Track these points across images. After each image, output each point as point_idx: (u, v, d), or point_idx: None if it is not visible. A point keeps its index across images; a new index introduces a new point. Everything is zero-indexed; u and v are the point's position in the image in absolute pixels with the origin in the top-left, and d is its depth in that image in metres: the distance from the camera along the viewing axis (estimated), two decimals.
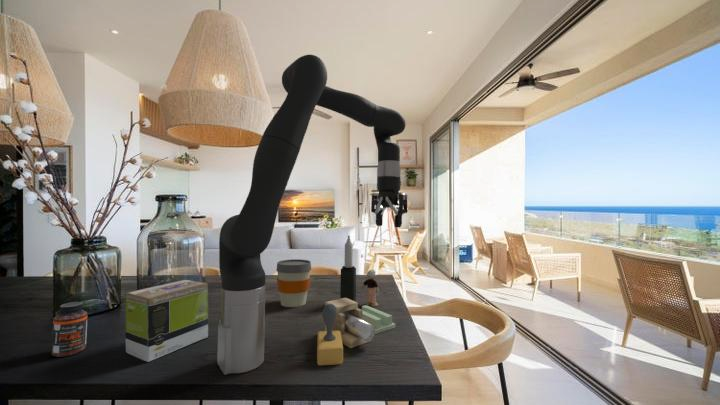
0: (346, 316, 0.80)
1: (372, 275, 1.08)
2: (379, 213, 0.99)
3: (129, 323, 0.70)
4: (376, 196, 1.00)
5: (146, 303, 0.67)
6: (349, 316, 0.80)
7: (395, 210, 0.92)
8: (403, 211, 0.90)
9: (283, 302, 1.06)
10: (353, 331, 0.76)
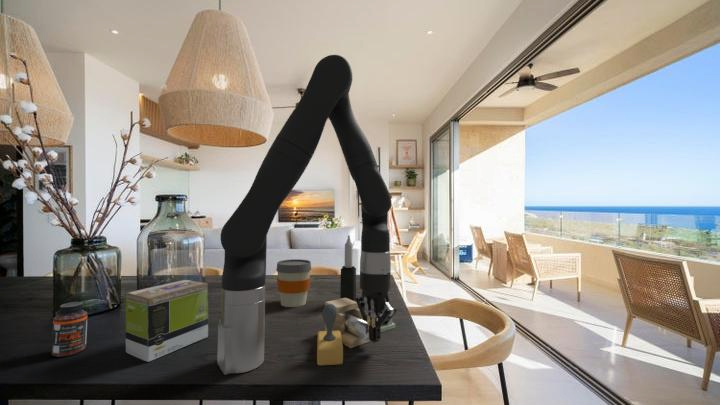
0: (346, 316, 0.81)
1: None
2: None
3: (129, 323, 0.70)
4: (361, 297, 0.76)
5: (146, 303, 0.67)
6: (349, 316, 0.80)
7: (373, 321, 0.71)
8: (381, 324, 0.70)
9: (283, 302, 1.06)
10: (353, 331, 0.76)
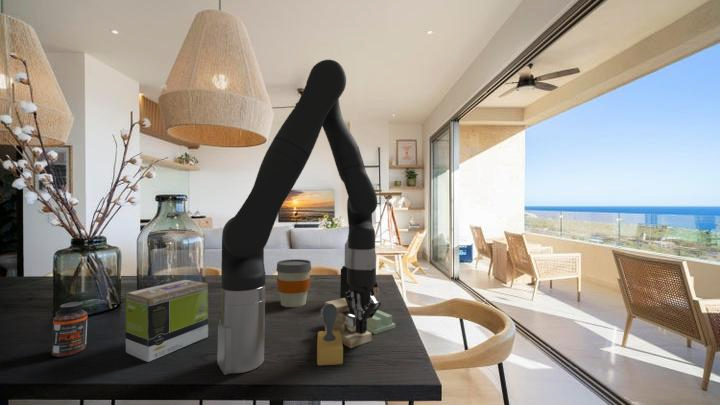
0: None
1: None
2: None
3: (129, 323, 0.70)
4: (348, 292, 0.81)
5: (146, 303, 0.67)
6: None
7: (360, 314, 0.76)
8: (367, 317, 0.74)
9: (283, 302, 1.06)
10: None
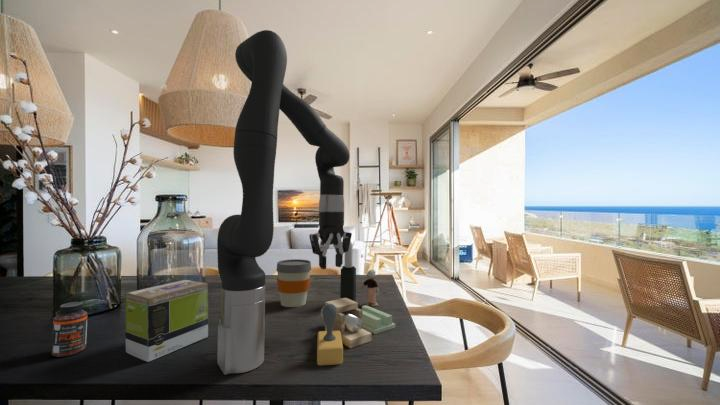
0: None
1: (372, 275, 1.08)
2: (337, 253, 0.90)
3: (129, 323, 0.70)
4: None
5: (146, 303, 0.67)
6: None
7: None
8: (314, 252, 0.86)
9: (283, 302, 1.06)
10: None
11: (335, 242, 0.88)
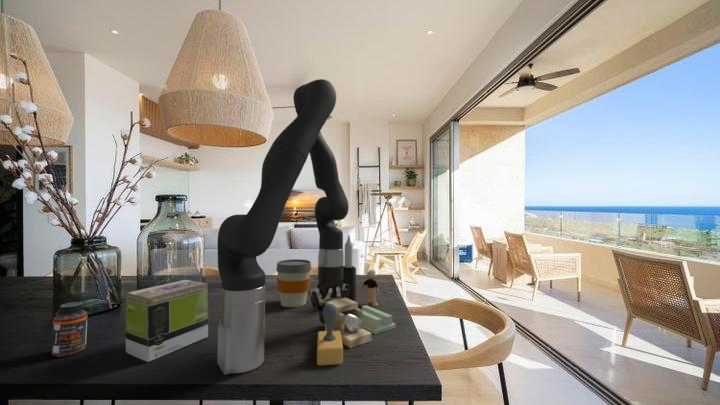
0: None
1: (372, 275, 1.08)
2: None
3: (129, 323, 0.70)
4: None
5: (146, 303, 0.67)
6: None
7: None
8: (314, 307, 0.86)
9: (283, 302, 1.06)
10: None
11: (334, 295, 0.88)
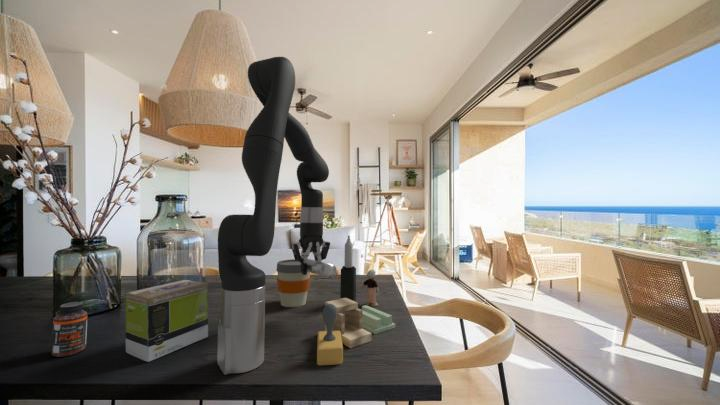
0: (314, 261, 0.95)
1: (372, 275, 1.08)
2: (316, 260, 0.99)
3: (129, 323, 0.70)
4: None
5: (146, 303, 0.67)
6: (316, 261, 0.94)
7: None
8: (296, 259, 0.95)
9: (283, 302, 1.06)
10: (318, 271, 0.90)
11: (314, 250, 0.98)
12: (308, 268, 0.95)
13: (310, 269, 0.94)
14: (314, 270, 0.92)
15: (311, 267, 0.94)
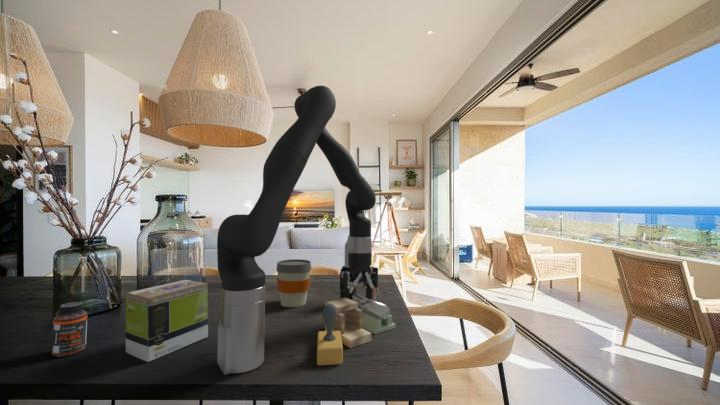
0: (364, 299, 0.92)
1: None
2: (368, 287, 0.98)
3: (129, 323, 0.70)
4: None
5: (146, 303, 0.67)
6: (367, 299, 0.92)
7: None
8: (341, 289, 0.92)
9: (283, 302, 1.06)
10: (371, 311, 0.88)
11: (365, 280, 0.95)
12: (358, 305, 0.93)
13: (360, 307, 0.92)
14: (365, 309, 0.90)
15: (361, 305, 0.91)
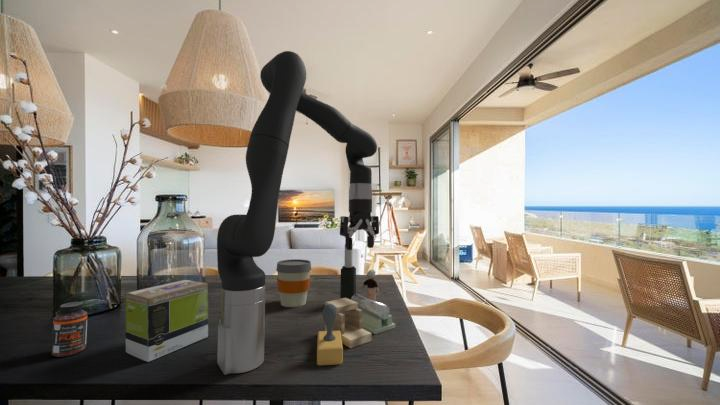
0: (364, 299, 0.92)
1: (372, 275, 1.08)
2: (369, 235, 0.98)
3: (129, 323, 0.70)
4: None
5: (146, 303, 0.67)
6: (367, 299, 0.92)
7: None
8: (341, 234, 0.92)
9: (283, 302, 1.06)
10: (371, 311, 0.88)
11: (366, 227, 0.96)
12: (358, 305, 0.93)
13: (360, 307, 0.92)
14: (365, 309, 0.90)
15: (361, 305, 0.91)
